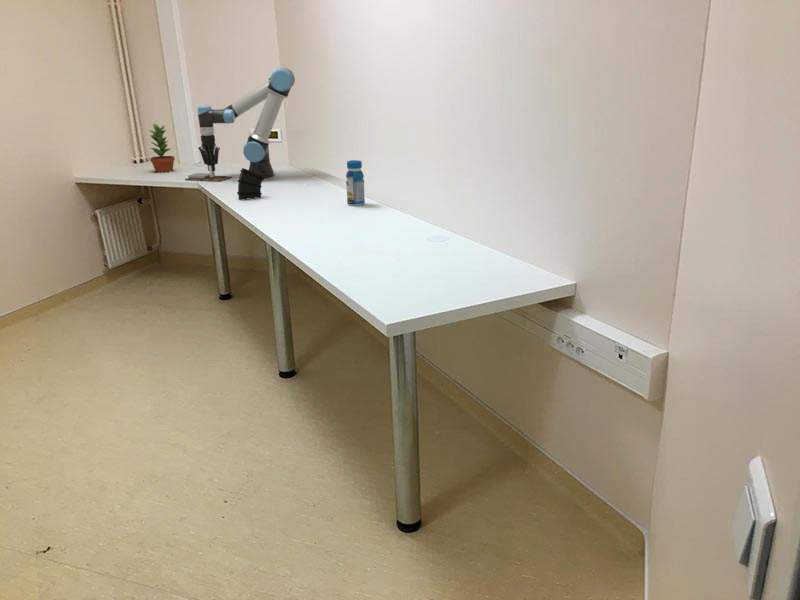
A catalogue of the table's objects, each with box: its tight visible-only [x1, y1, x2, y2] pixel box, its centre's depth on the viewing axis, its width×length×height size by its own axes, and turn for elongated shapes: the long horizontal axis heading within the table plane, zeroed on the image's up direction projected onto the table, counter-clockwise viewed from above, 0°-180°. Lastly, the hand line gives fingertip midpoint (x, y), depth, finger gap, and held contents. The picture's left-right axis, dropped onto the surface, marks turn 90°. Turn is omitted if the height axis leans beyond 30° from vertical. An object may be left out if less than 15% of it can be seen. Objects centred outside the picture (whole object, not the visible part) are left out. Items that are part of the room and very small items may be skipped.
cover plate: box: [187, 172, 214, 179], centre depth 360 cm, size 11×9×2 cm
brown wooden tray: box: [184, 175, 233, 183], centre depth 359 cm, size 23×13×2 cm, turn 71°
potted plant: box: [148, 123, 175, 173], centre depth 390 cm, size 15×15×30 cm
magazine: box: [237, 167, 265, 200], centre depth 308 cm, size 4×13×15 cm, turn 124°
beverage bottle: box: [345, 159, 366, 207], centre depth 287 cm, size 8×8×20 cm
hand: (212, 176), depth 358 cm, fingers closed
